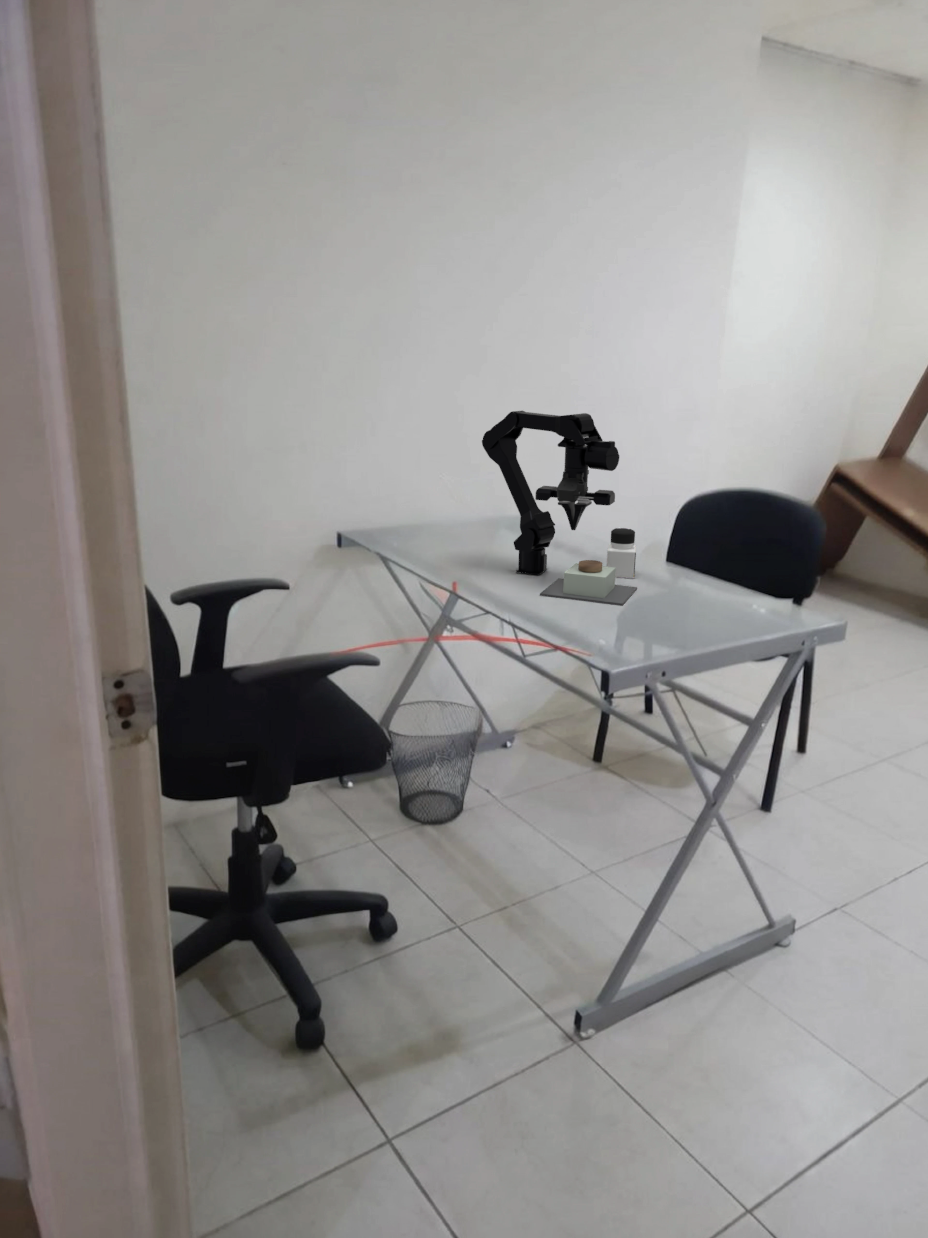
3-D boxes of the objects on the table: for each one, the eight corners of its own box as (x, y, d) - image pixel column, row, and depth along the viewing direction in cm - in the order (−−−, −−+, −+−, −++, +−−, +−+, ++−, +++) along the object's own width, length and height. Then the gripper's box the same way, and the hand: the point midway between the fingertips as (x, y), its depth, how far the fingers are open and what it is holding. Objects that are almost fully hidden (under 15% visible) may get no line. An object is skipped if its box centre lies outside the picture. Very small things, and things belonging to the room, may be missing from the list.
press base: (539, 595, 205) (540, 573, 203) (558, 580, 218) (559, 558, 216) (622, 605, 197) (624, 582, 196) (637, 589, 211) (638, 567, 209)
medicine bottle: (634, 578, 220) (637, 532, 216) (605, 577, 221) (608, 531, 217) (634, 571, 226) (637, 526, 223) (607, 570, 228) (609, 525, 224)
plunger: (574, 590, 206) (575, 564, 204) (581, 584, 211) (582, 559, 209) (597, 593, 204) (599, 566, 202) (603, 587, 209) (605, 561, 207)
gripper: (529, 468, 205) (527, 532, 210) (605, 473, 198) (602, 540, 203) (543, 462, 215) (541, 524, 220) (617, 467, 208) (613, 530, 213)
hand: (573, 529), depth 214 cm, fingers closed
